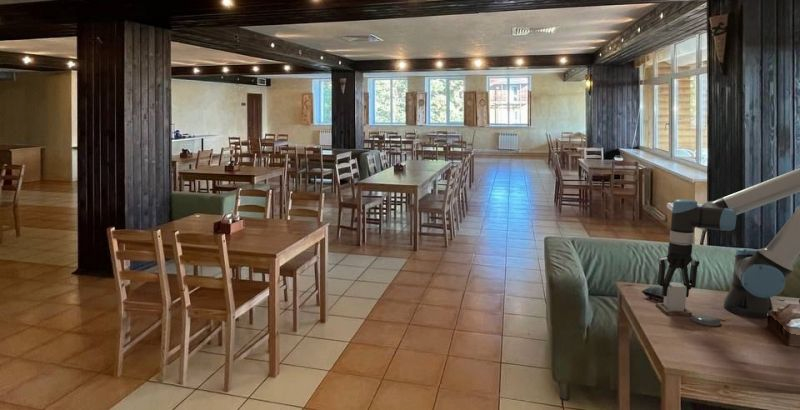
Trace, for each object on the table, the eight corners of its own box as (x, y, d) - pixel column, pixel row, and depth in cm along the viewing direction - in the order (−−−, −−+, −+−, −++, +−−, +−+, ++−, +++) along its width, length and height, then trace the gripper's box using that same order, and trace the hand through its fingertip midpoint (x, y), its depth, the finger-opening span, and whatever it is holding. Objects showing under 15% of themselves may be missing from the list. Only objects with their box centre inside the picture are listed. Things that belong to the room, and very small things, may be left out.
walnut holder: (680, 307, 198) (681, 303, 198) (691, 315, 190) (692, 312, 189) (655, 305, 199) (656, 302, 199) (665, 314, 190) (665, 311, 190)
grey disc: (712, 316, 189) (712, 314, 189) (725, 326, 180) (725, 324, 180) (685, 315, 190) (686, 313, 190) (697, 325, 181) (698, 323, 181)
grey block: (677, 308, 197) (680, 282, 195) (683, 313, 192) (686, 286, 190) (663, 308, 197) (666, 282, 195) (669, 312, 192) (672, 286, 190)
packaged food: (652, 293, 214) (654, 281, 213) (682, 301, 205) (683, 289, 204) (640, 297, 209) (641, 285, 209) (669, 306, 200) (670, 293, 199)
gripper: (702, 241, 193) (695, 302, 197) (650, 239, 194) (644, 300, 198) (712, 246, 186) (704, 309, 190) (658, 244, 187) (652, 307, 191)
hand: (674, 304), depth 194 cm, fingers closed on grey block, 5 cm apart
